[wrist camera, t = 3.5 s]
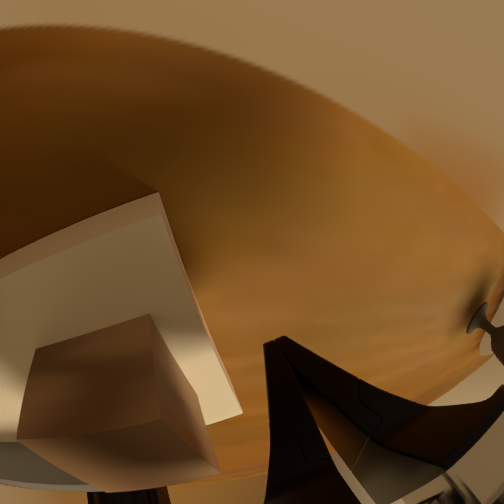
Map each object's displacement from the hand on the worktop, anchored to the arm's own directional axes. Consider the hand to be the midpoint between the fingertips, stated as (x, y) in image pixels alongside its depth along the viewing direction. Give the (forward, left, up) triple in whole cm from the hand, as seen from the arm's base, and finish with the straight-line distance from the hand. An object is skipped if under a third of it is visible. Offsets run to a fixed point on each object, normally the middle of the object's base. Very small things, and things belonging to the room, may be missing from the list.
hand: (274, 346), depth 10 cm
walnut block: (-6, 0, -1) cm, 6 cm away
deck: (-15, 0, -3) cm, 16 cm away
